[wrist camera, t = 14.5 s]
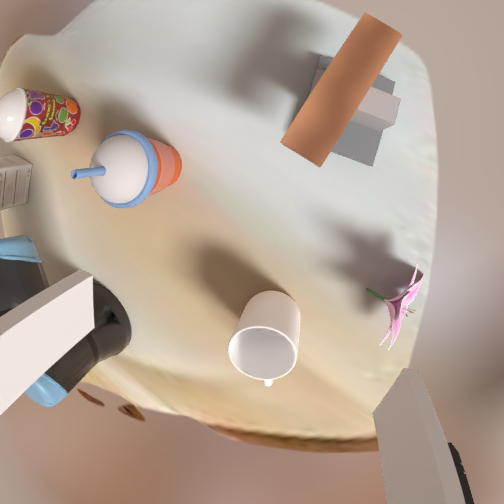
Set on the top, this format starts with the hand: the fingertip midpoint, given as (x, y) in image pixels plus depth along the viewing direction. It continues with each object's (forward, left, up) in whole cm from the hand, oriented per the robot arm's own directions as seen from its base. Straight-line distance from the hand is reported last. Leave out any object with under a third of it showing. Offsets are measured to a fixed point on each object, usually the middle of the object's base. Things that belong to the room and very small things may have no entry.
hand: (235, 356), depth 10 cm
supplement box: (-56, -7, -29) cm, 64 cm away
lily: (+18, -5, -29) cm, 35 cm away
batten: (+1, +16, -20) cm, 26 cm away
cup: (+3, -16, -29) cm, 33 cm away
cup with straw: (-19, +2, -29) cm, 35 cm away
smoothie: (-41, +7, -29) cm, 51 cm away
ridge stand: (+3, +16, -29) cm, 33 cm away
